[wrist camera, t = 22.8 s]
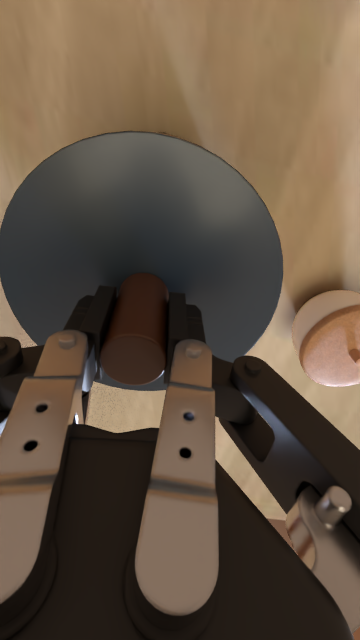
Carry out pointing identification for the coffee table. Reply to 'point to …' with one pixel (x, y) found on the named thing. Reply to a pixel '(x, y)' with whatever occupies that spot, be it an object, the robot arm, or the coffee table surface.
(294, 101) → the coffee table surface
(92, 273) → the lid
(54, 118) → the coffee table surface
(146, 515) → the robot arm
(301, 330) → the trinket box
